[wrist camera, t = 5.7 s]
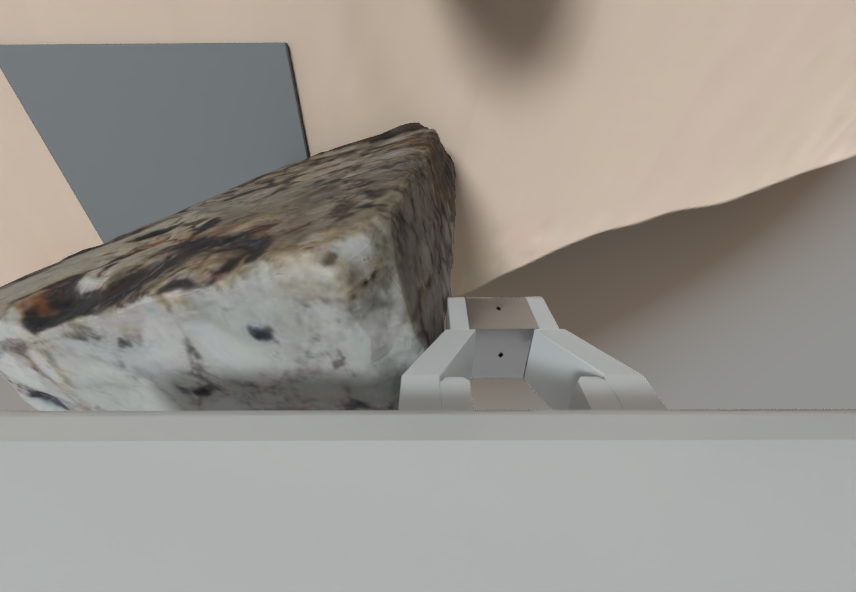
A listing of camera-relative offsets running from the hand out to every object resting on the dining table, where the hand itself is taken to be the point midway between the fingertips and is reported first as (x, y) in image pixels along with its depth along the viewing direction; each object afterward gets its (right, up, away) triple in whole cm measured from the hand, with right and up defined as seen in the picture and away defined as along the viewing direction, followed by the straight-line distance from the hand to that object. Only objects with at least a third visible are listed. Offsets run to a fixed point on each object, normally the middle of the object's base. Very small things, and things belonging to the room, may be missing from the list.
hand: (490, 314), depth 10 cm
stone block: (-6, +10, +15) cm, 19 cm away
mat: (-20, +10, +15) cm, 27 cm away
